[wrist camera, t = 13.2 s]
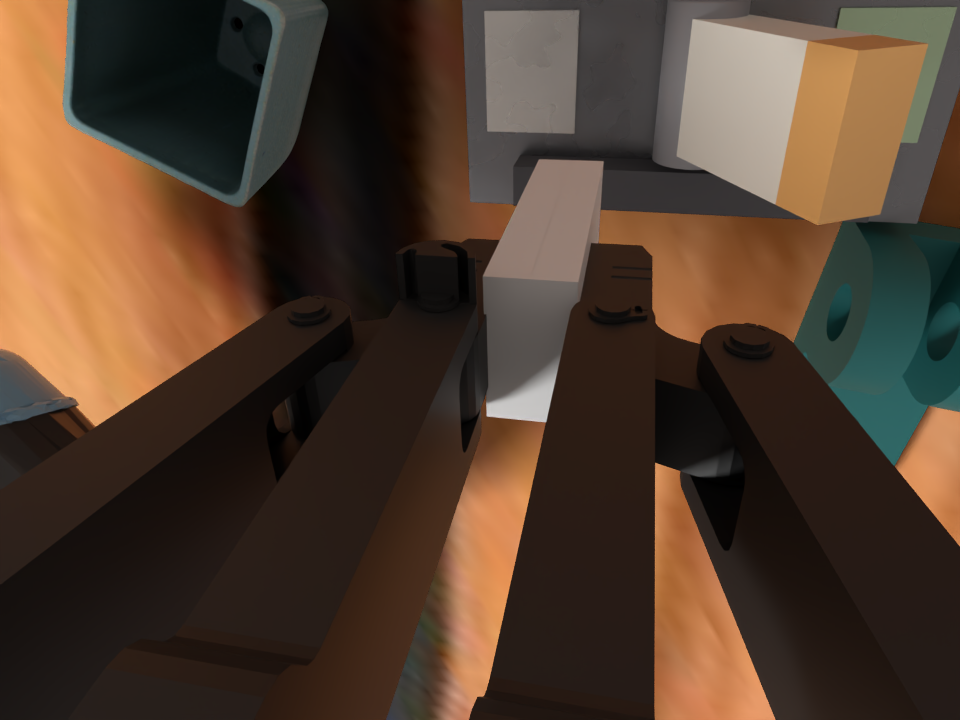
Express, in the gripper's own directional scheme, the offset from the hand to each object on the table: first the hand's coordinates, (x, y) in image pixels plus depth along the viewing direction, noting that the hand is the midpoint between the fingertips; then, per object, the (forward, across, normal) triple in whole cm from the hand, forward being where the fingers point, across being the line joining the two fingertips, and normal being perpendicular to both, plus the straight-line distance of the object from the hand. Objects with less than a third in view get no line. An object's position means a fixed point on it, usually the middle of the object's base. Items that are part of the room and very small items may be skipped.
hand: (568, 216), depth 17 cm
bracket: (+20, +14, -16) cm, 29 cm away
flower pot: (+20, -17, +2) cm, 26 cm away
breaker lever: (+16, +3, 0) cm, 16 cm away
